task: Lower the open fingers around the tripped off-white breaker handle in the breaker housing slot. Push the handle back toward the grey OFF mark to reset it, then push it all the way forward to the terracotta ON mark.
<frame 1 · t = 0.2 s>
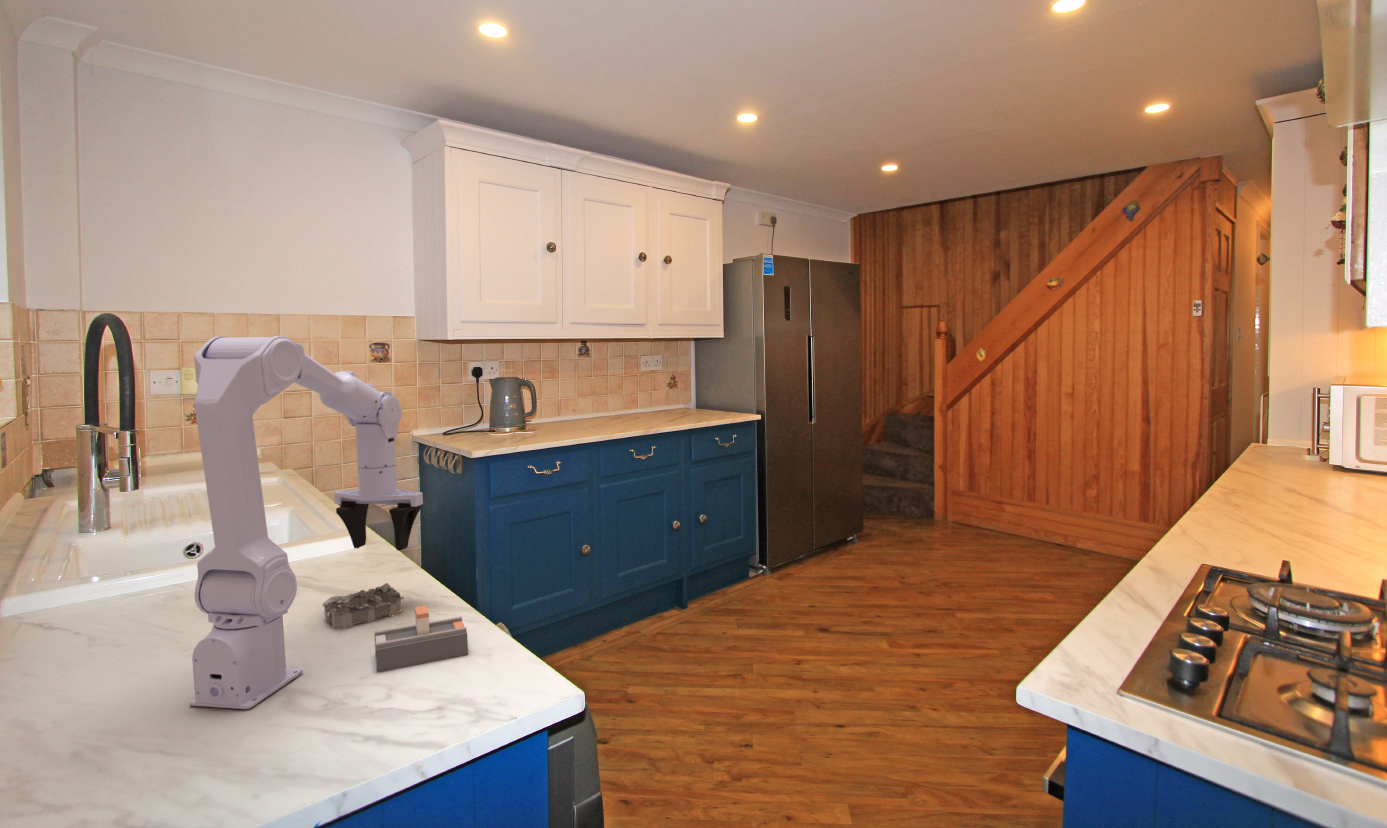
hand: (380, 547, 111), 10 cm above the countertop, tool pointing down, fingers open, 7 cm apart
egg carton: (363, 618, 108), on the countertop
breaker handle: (422, 620, 94), point 5 cm above the countertop, slide at 2.0 cm
breaker housing: (408, 656, 94), on the countertop
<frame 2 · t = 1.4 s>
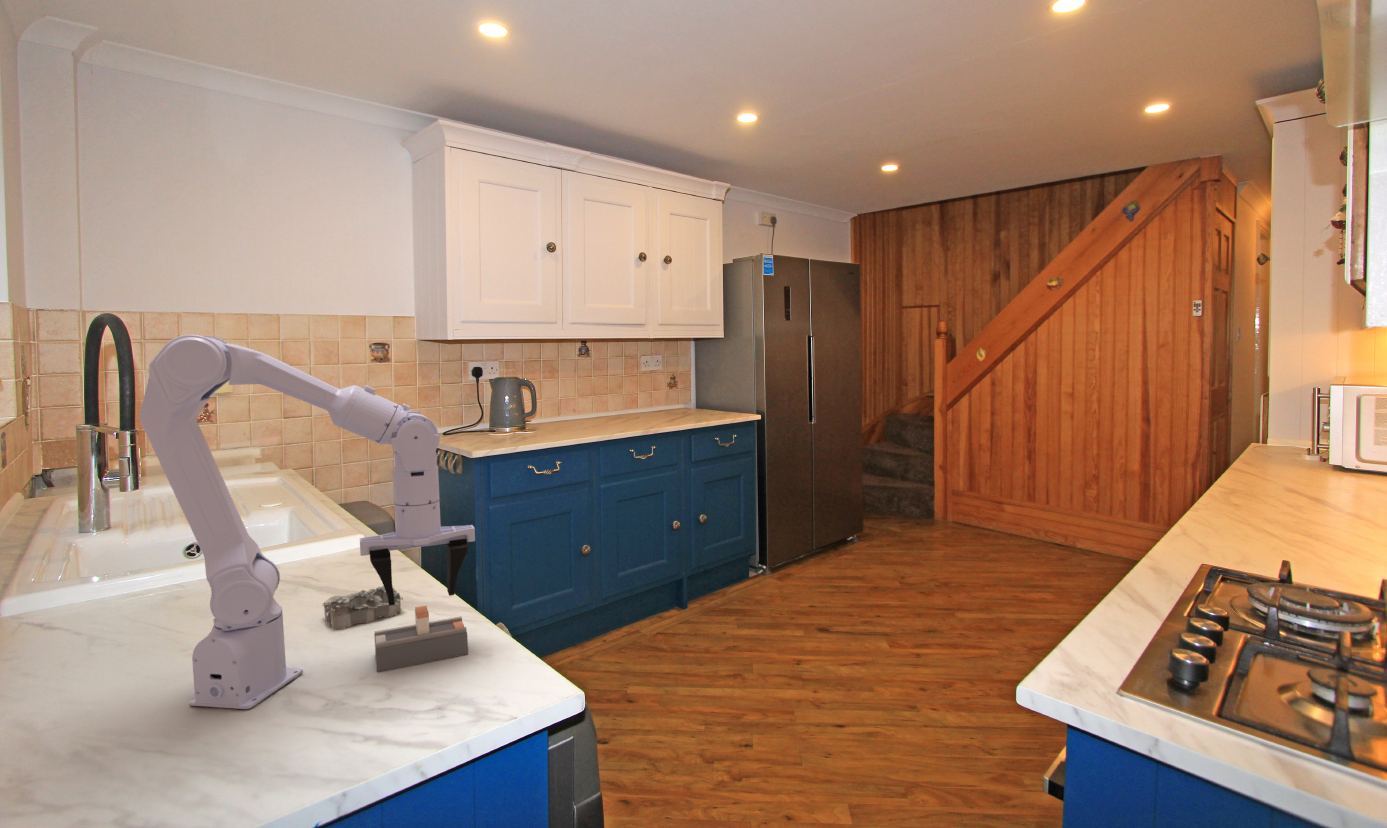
hand: (421, 597, 94), 8 cm above the countertop, tool pointing down, fingers open, 7 cm apart
nothing on the countertop moved.
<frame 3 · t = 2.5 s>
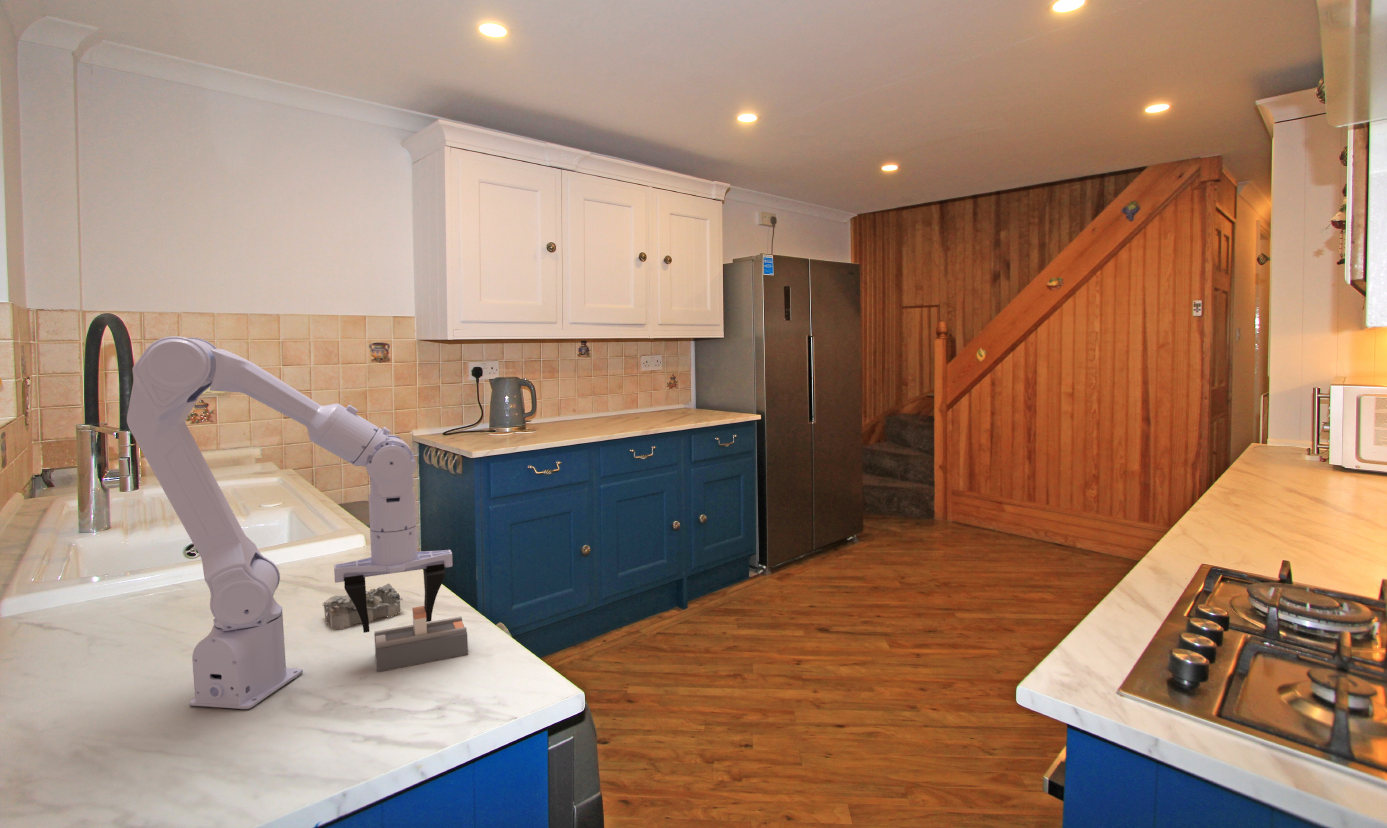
hand: (397, 624, 93), 5 cm above the countertop, tool pointing down, fingers open, 7 cm apart
breaker handle: (419, 620, 94), point 5 cm above the countertop, slide at 1.7 cm, touching gripper
everything else where it was.
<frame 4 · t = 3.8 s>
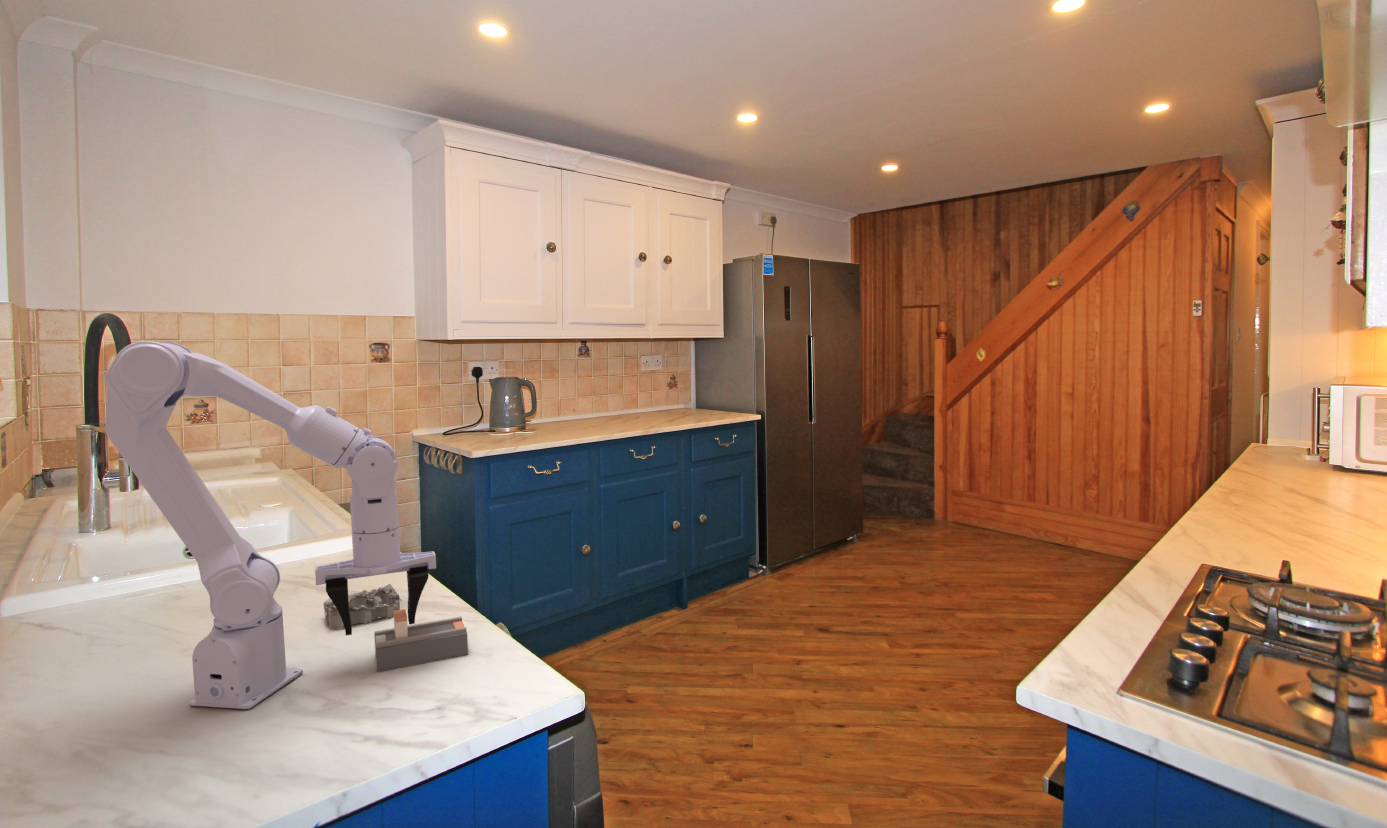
hand: (380, 626, 92), 5 cm above the countertop, tool pointing down, fingers open, 7 cm apart
breaker handle: (400, 624, 93), point 5 cm above the countertop, slide at -0.7 cm
everything else where it was.
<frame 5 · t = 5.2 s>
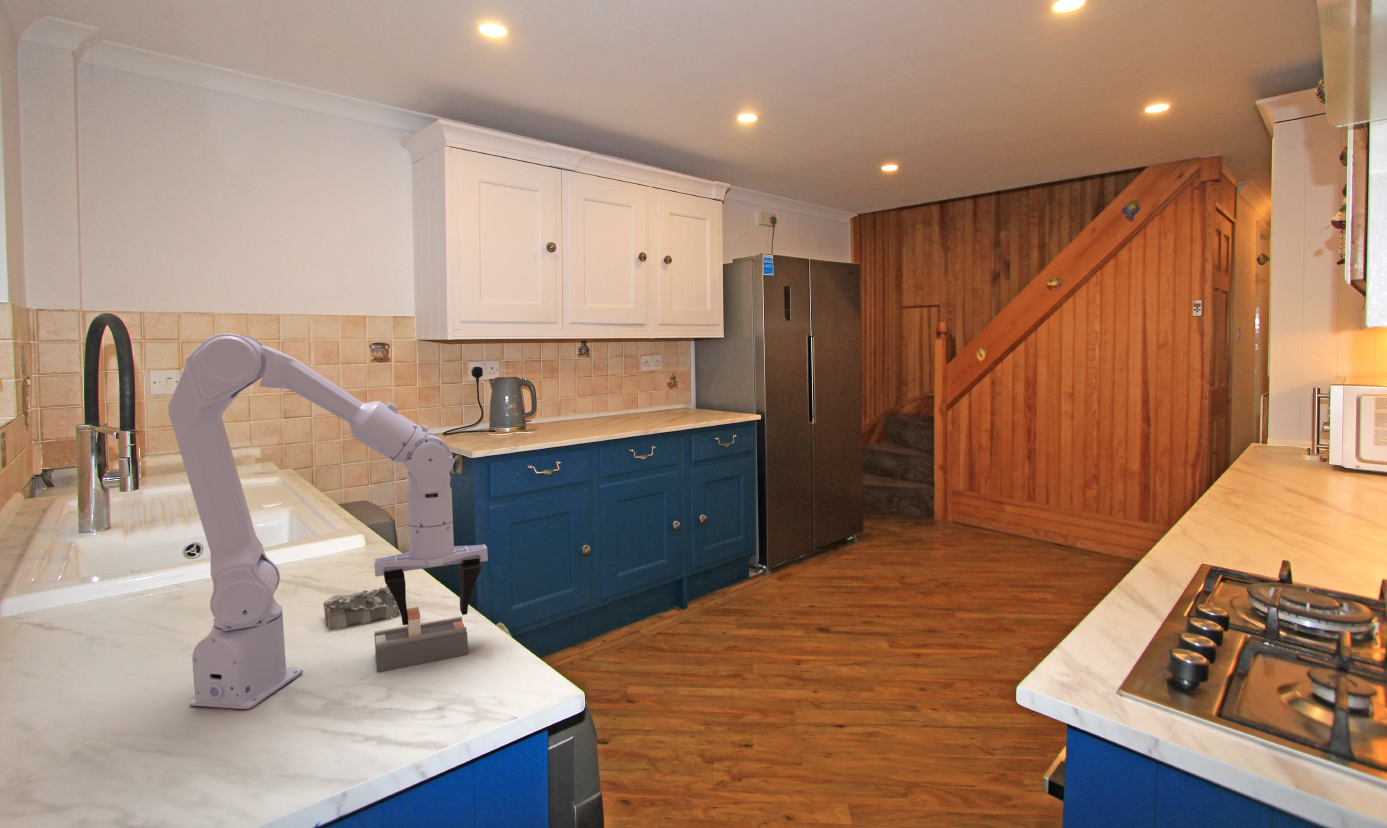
hand: (435, 617, 95), 5 cm above the countertop, tool pointing down, fingers open, 7 cm apart
breaker handle: (413, 621, 94), point 5 cm above the countertop, slide at 0.9 cm, touching gripper
everything else where it was.
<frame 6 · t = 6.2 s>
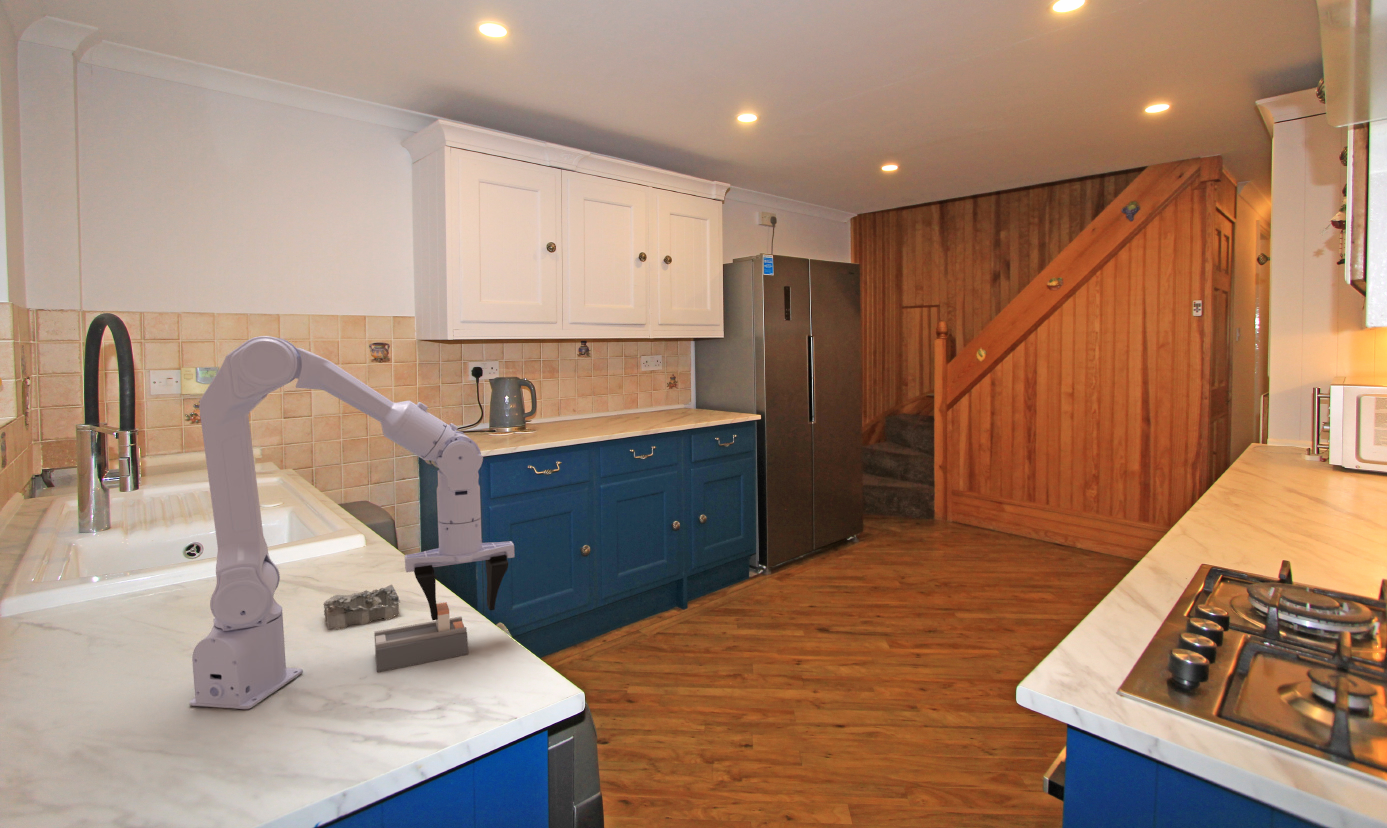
hand: (463, 612, 96), 5 cm above the countertop, tool pointing down, fingers open, 7 cm apart
breaker handle: (442, 616, 95), point 5 cm above the countertop, slide at 4.7 cm, touching gripper
everything else where it was.
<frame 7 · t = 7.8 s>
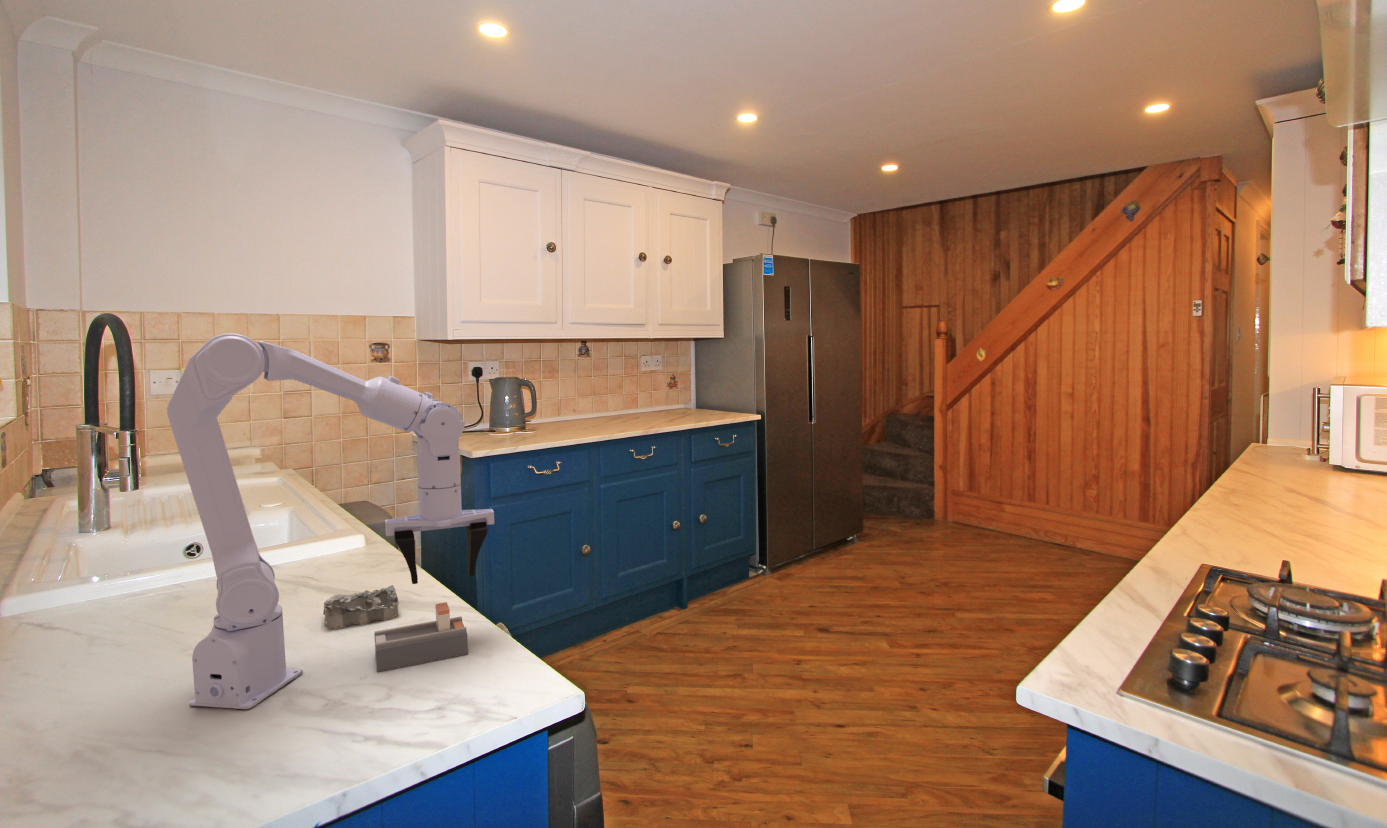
hand: (443, 577, 98), 9 cm above the countertop, tool pointing down, fingers open, 7 cm apart
breaker handle: (442, 616, 95), point 5 cm above the countertop, slide at 4.7 cm
everything else where it was.
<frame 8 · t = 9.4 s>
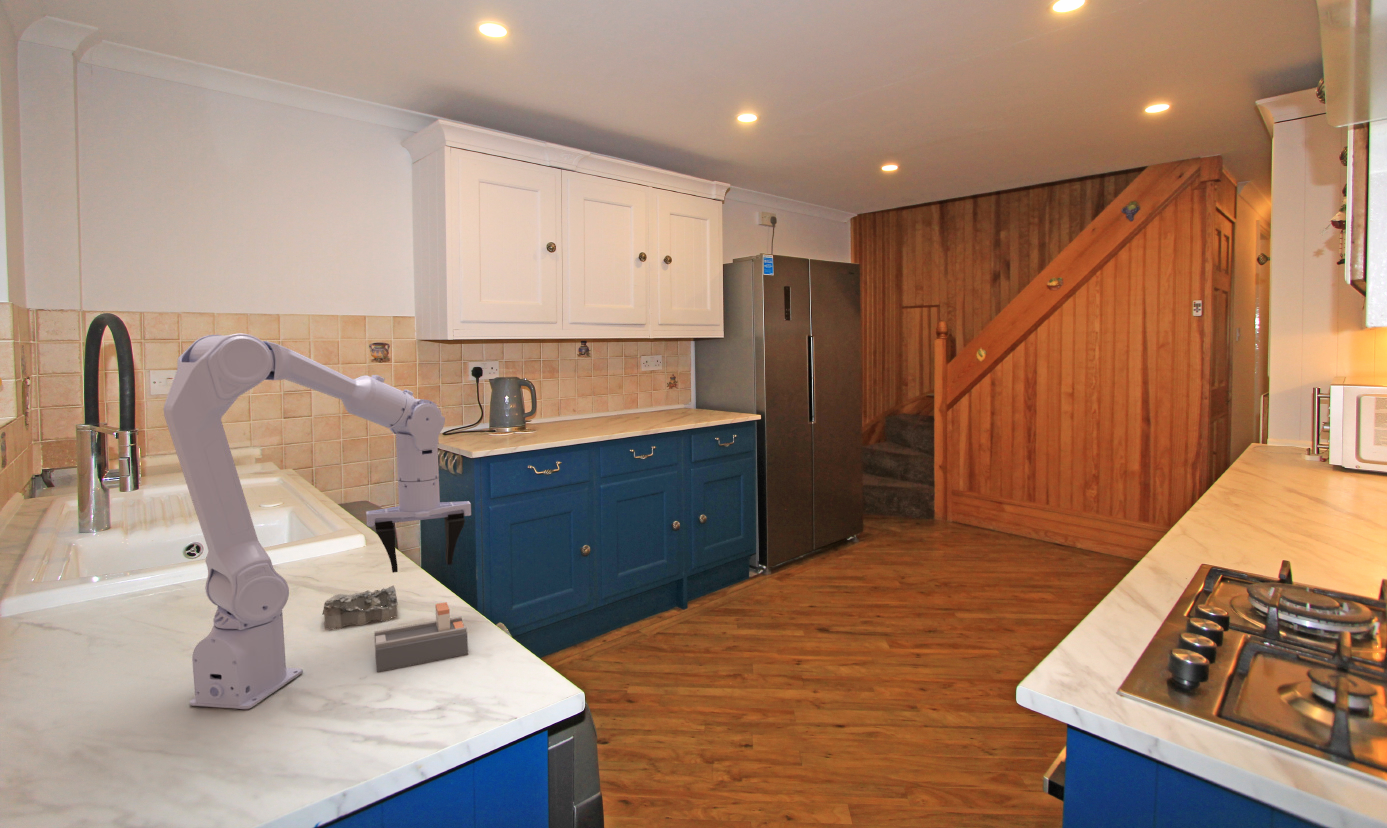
hand: (422, 566, 103), 9 cm above the countertop, tool pointing down, fingers open, 7 cm apart
at the end: breaker handle slide at 4.7 cm; egg carton moved 0.8 cm from its start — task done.
